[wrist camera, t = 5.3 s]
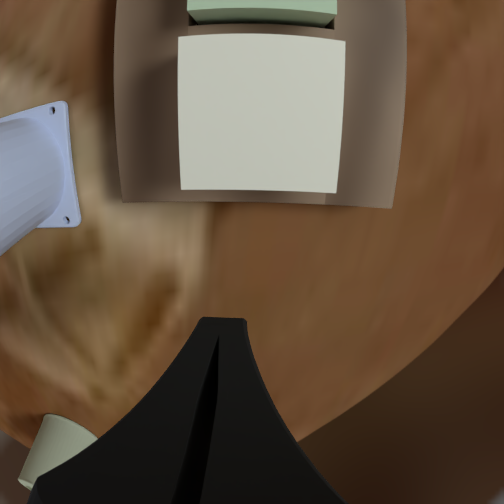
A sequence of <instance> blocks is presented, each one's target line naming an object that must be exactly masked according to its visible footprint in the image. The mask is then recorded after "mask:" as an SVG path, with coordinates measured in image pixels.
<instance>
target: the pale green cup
mask: <svg viewBox="0 0 504 504" xmlns="http://www.w3.org/2000/svg"><path fill="white" fill-rule="evenodd" d="M97 439H98V438H97V437H96V436H95V435H94V434H92V433H91V432H90V431H88V430H87V429H85V428H84V427H82V426H81V425H79V424H77V423H75V422H73V421H71V420H69V419H67V418H65V417H62V416H59V415H56V414H46V415H45V416H44V418H43V422H42V424H41V427H40V429H39V431H38V434H37V436H36V438H35V441H34V443H33V445H32V448H31V450H30V452H29V455H28V457H27V459H26V462H25V464H24V467H23V469H22V472H21V474H20V477H19V478H18V480H19V482H20V483H22V484H23V485H24V486H26V487H27V488H28V489H30V490H32V487H33V485H34V483H35V481H36V479H37V477H39V476H40V475H42V474H44V473H46V472H48V471H50V470H51V469H53V468H55V467H57V466H58V465H60V464H62V463H64V462H65V461H67V460H69V459H70V458H72V457H73V456H75V455H77V454H78V453H79V452H81V451H82V450H84V449H85V448H86V447H88V446H89V445H90V444H92V443H93V442H95V441H96V440H97Z"/></svg>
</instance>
